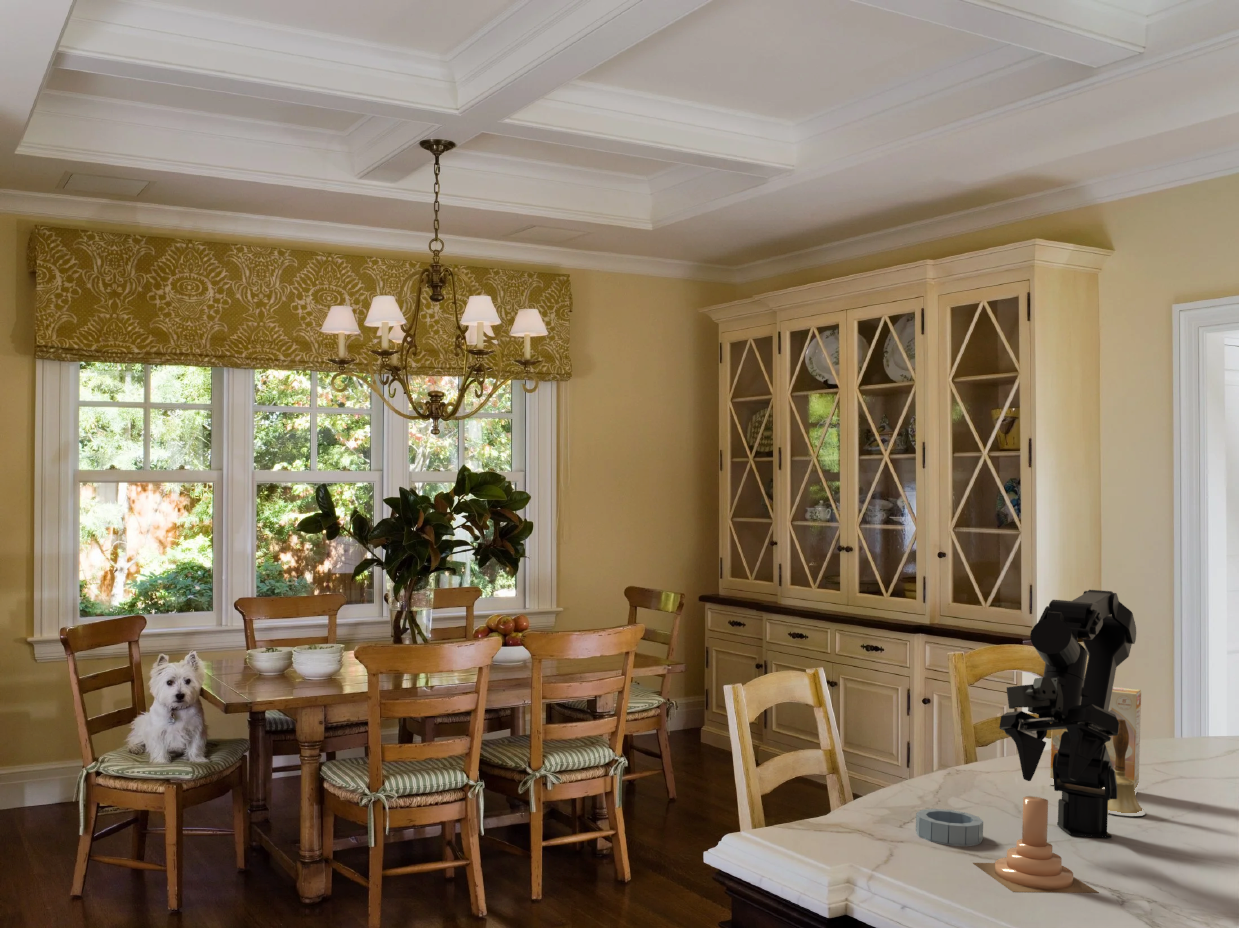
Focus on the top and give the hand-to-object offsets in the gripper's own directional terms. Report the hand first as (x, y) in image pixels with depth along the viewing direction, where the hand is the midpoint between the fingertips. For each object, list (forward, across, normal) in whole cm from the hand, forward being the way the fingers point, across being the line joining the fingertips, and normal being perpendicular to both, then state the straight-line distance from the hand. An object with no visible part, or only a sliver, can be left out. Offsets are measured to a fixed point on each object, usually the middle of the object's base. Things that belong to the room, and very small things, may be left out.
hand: (1049, 779), depth 159 cm
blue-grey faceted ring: (+11, -15, -4) cm, 19 cm away
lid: (+15, +4, -4) cm, 16 cm away
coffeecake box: (-13, -38, +43) cm, 59 cm away
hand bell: (-7, -23, +36) cm, 44 cm away
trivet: (+15, +4, -3) cm, 16 cm away
